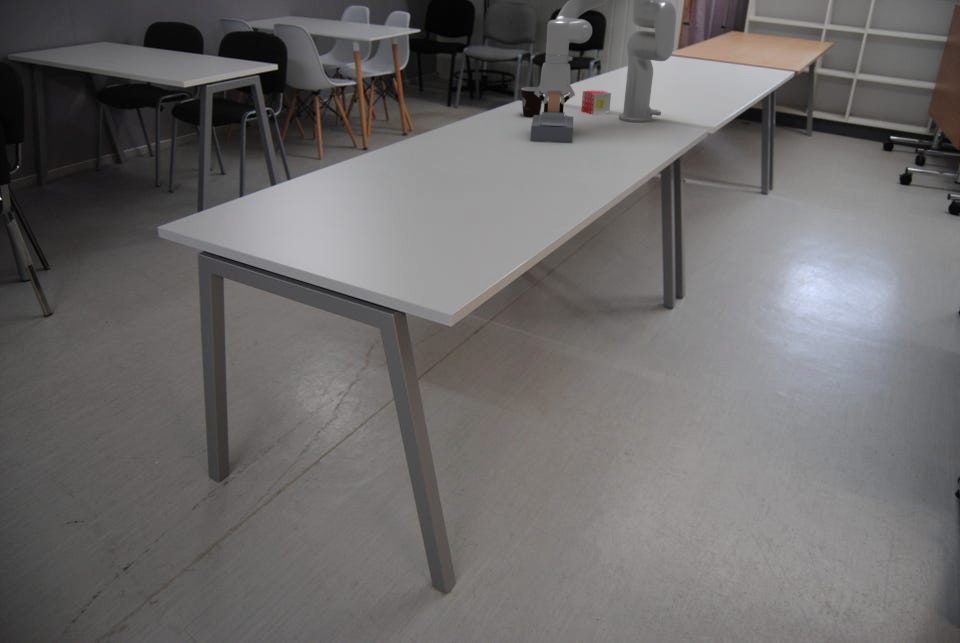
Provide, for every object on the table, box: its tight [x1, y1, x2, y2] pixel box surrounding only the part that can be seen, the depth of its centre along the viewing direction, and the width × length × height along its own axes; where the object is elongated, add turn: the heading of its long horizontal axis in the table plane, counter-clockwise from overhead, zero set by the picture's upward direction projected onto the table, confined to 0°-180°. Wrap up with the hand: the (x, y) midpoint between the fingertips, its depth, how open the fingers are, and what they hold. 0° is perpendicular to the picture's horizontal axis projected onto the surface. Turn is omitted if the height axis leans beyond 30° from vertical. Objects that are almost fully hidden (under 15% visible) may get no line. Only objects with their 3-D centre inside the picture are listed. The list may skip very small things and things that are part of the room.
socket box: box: [530, 113, 574, 143], centre depth 256 cm, size 14×18×6 cm
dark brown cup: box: [520, 86, 544, 118], centre depth 286 cm, size 12×9×10 cm
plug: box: [547, 91, 562, 112], centre depth 256 cm, size 5×5×10 cm
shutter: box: [541, 111, 566, 126], centre depth 250 cm, size 8×8×3 cm
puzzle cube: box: [581, 89, 612, 116], centre depth 293 cm, size 8×8×8 cm
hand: (553, 114), depth 257 cm, fingers closed on plug, 4 cm apart
